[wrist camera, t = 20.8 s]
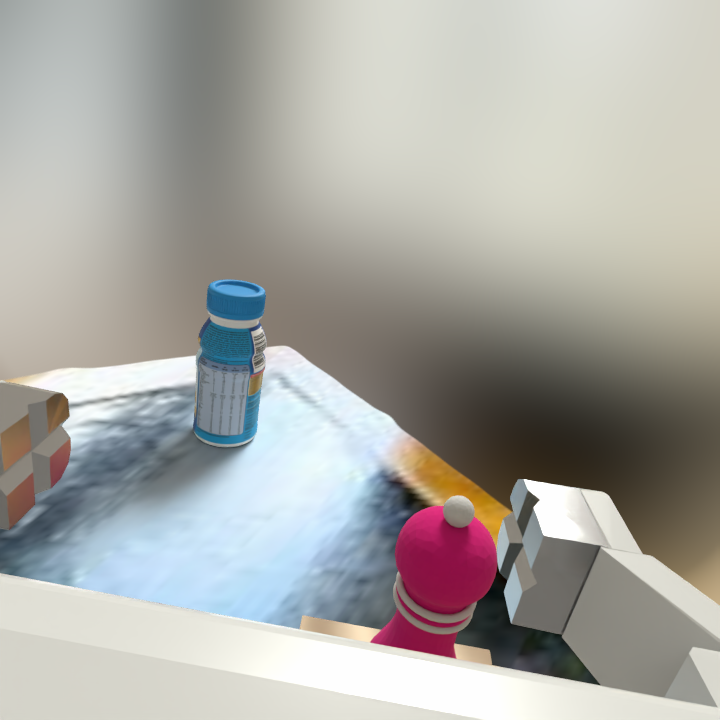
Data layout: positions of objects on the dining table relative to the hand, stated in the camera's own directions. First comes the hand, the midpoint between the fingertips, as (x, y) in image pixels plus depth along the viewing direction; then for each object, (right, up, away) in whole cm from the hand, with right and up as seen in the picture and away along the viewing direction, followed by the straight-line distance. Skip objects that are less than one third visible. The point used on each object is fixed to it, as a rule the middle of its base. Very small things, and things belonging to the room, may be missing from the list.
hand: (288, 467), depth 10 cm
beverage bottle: (-17, -8, +63) cm, 66 cm away
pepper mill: (+4, -24, +29) cm, 38 cm away
